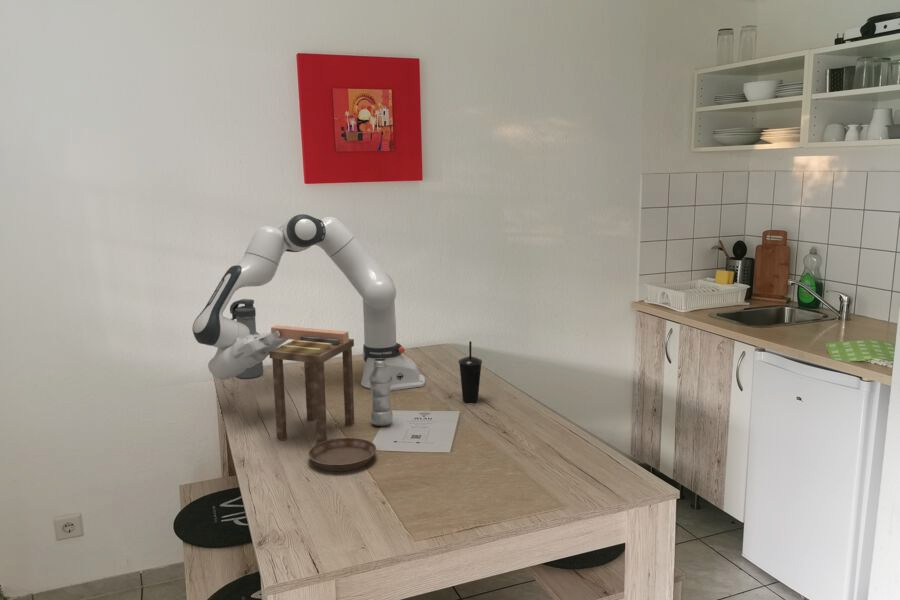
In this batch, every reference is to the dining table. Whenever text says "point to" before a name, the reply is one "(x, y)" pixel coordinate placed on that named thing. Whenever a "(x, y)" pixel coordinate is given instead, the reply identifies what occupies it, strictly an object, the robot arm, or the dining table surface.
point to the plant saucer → (342, 454)
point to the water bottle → (248, 318)
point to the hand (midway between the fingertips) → (284, 330)
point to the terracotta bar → (310, 333)
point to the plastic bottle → (380, 393)
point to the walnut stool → (312, 380)
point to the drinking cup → (470, 377)
